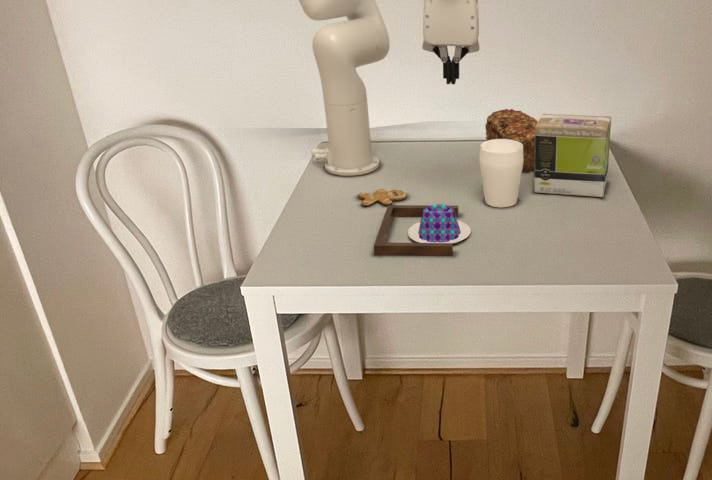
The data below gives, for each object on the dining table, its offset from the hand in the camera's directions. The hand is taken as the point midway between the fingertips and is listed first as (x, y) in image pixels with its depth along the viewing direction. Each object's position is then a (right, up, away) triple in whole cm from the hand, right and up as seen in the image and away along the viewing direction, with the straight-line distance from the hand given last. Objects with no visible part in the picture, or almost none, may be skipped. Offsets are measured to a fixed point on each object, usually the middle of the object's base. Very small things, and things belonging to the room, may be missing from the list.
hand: (451, 82), depth 146 cm
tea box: (+25, -17, +20) cm, 36 cm away
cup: (+10, -21, +13) cm, 27 cm away
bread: (+15, -7, +35) cm, 39 cm away
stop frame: (-6, -29, 0) cm, 30 cm away
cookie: (-15, -20, +15) cm, 29 cm away
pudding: (-2, -29, 0) cm, 30 cm away
